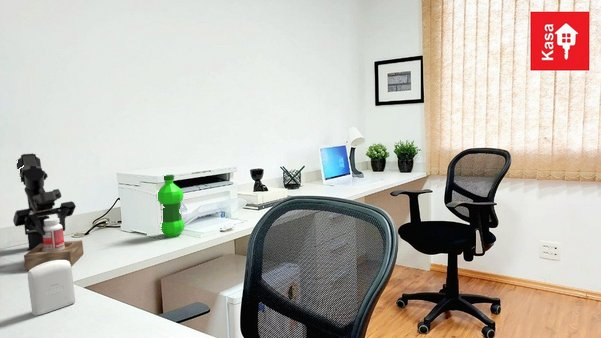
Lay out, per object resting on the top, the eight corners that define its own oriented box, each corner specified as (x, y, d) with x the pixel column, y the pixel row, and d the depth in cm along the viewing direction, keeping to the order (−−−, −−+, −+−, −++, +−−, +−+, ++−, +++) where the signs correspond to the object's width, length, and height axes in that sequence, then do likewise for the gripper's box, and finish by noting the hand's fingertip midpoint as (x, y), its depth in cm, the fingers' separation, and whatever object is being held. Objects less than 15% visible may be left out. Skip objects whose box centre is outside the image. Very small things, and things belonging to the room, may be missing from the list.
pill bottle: (65, 246, 157) (62, 216, 156) (64, 251, 152) (61, 219, 150) (45, 249, 155) (41, 218, 153) (43, 254, 149) (40, 222, 148)
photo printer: (35, 317, 110) (30, 269, 108) (29, 313, 113) (23, 266, 111) (78, 303, 118) (73, 258, 116) (71, 299, 120) (66, 255, 119)
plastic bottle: (184, 237, 180) (180, 176, 177) (157, 239, 178) (152, 177, 175) (187, 231, 190) (183, 173, 187) (161, 233, 188) (157, 174, 185)
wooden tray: (25, 270, 145) (23, 255, 145) (41, 257, 159) (40, 243, 159) (71, 266, 148) (70, 251, 147) (83, 254, 162) (82, 240, 161)
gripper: (12, 186, 146) (29, 224, 140) (70, 179, 160) (88, 212, 154) (6, 207, 152) (22, 244, 146) (63, 198, 166) (79, 231, 160)
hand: (54, 232), depth 152 cm, fingers closed on pill bottle, 6 cm apart
